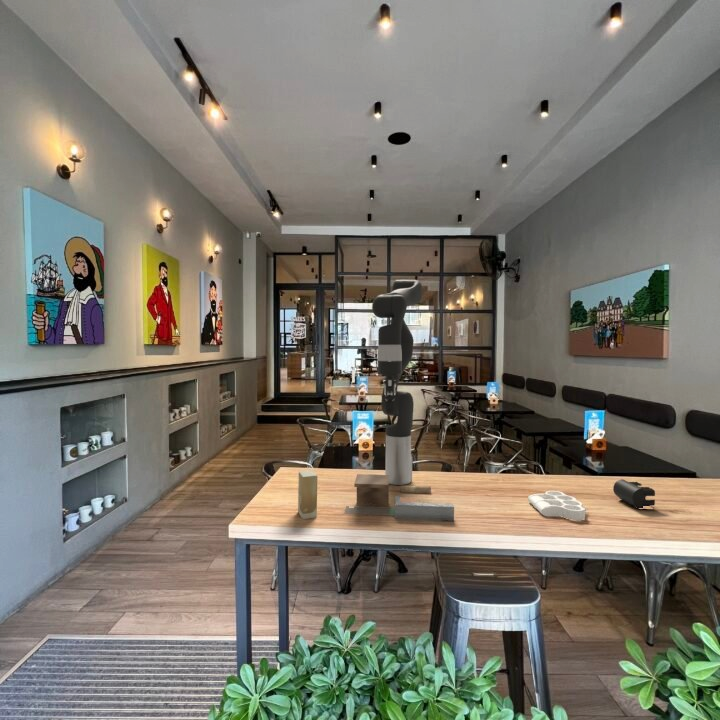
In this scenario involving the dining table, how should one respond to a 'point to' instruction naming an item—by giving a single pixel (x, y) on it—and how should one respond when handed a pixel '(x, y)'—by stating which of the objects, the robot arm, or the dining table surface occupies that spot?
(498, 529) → the dining table surface
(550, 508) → the white segmented tray
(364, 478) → the brown wooden box
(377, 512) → the green flat plank
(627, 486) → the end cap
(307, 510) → the skincare box
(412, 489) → the dowel
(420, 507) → the crook
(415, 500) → the block
